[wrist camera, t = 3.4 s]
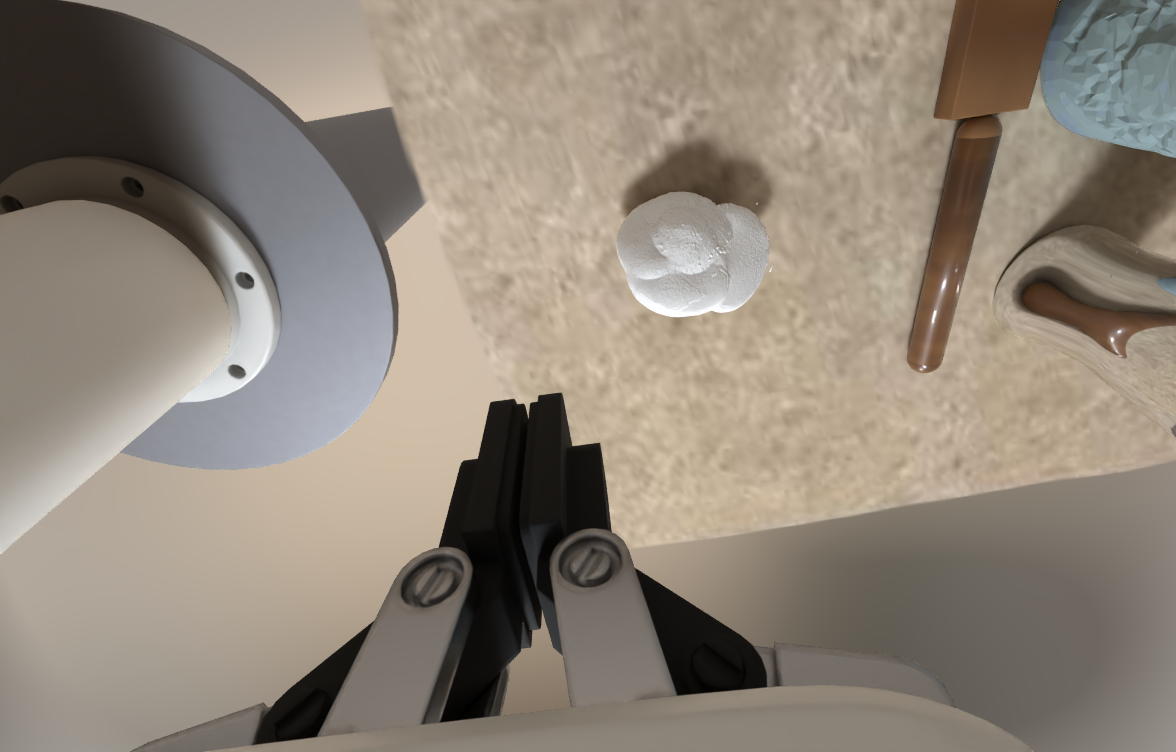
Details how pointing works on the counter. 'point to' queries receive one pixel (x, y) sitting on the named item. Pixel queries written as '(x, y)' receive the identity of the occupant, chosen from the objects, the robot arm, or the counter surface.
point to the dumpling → (692, 254)
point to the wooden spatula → (974, 144)
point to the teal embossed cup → (1114, 71)
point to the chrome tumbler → (1099, 312)
